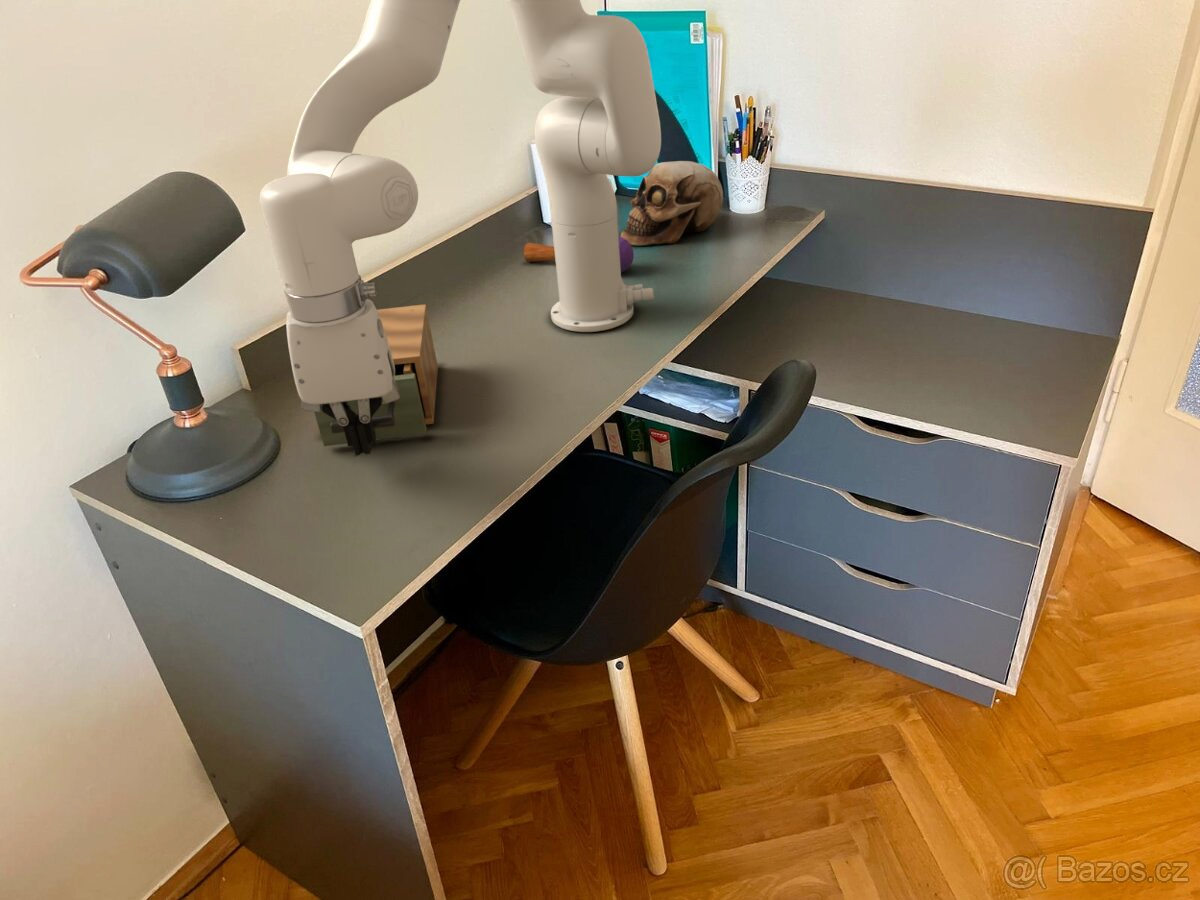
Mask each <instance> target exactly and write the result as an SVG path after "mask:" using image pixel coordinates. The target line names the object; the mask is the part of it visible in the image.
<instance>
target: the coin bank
mask: <svg viewBox="0 0 1200 900" xmlns="http://www.w3.org/2000/svg"><path fill="white" fill-rule="evenodd" d="M723 200H724V190H723V187H722V183H721V181H720V180H719V177H718V175H717V174H716V173H715V172H714V171H713V170H712V169H711V168H709V167H708V166H706V165H705V164H701V163H698V162H695V161H690V160H677V161H664V162H662V161H661V162H659V163H656V164H655V165H654V167H653V168H652V169H651V170H650V171H649V172H648V174H647V175H644V176H643V177H642V178H641V181H640V183H639V186H638V189H637V192H636V193H635V198H632V199H631V200H630V206H631V207H632V209H631V210H630V211H629V213H628V218H627V221H626V226H625V229H623V231H622V232H621V233H620V234H619V237H621V238H623V239H625V240H627V241H628V242H629V244H630V245H631V246H633V247H634V246H635V247H637V246H639V247H640V246H643V247H644V246H650V245H662V244H675V243H677V242H678V241H679V240H680V239H681V237H682V235H683V234H685V233H695V232H696V233H698V232H703V231H705V230H707V229H708V228H709V226H711V225H712V224H713V223H714V222H715V221H716V219H717V217H718V216H719V214H720V212H721V211H722V207H723Z"/></svg>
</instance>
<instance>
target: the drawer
mask: <svg viewBox="0 0 1200 900" xmlns="http://www.w3.org/2000/svg"><path fill="white" fill-rule="evenodd" d="M394 366H395V376H394V379H395V380H396V382H397V384H398V386H399V388H400V390H401V393H400V398H399V399H398V400H396V401H393V402H390V403H387V404H383V405H381V406H380V408H379V409H378V410H377V411H376V412H375V414H374V415H373V416H372V421H373V425H374V430H375V434H376V441H378V440H386V439H387V440H388V439H395V438H402V437H403V438H404V437H410V436H418V435H426V434H427V424H425V419H424V414H423V410H422V406H423V401H422V397H421V392H420V387H419V382H418V377H417V373H416V368H415V362H414V363H406V364H397V365H394ZM348 402H349V404H350V406H351V409H352V410H353V411H354V412H356V414H358V412H359V409H358V400H353V401H348ZM313 413H314V417H315V420H316V423H317V426H318V430H319V434H320V437H321V441H322V444H323V447H329V446H330V447H331V446H337V445H338V446H339V445H345V444H347V445H348V443H347V440H346V436H345V432H344V428H343V426H341V425H339V424H338V422H337V420H335V419H334V418H332V417H330V416H329V415H327V414H325V413H324V412H321V411H320V412H313Z"/></svg>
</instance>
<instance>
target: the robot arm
mask: <svg viewBox="0 0 1200 900" xmlns="http://www.w3.org/2000/svg"><path fill="white" fill-rule="evenodd" d="M460 2H461V0H370V1H369V5H368V8H367V11H366V13H365V17H364V21H363V25H362V28H361V31H360V34H359V38H358V40H357V42H356V43H355V45H354V47H353V48H352V49H351V50H350V52H348V53H347V54H346V55H345V57H343V58H342V59H341V61H340V62H339V63H337V65H336V66H335V67H334V68H333V69H332V70H331V72H330V73H329V75H328V76H327V77H326V78H325V80H323V82H322V83H321V84H320V85H319V87H317V89H316V91H315V92H314V94H313V95H312V96H311V97H310V99H309V101H308V102H307V104H306V106H305V108H304V110H303V112H302V114H301V116H300V119H299V122H298V125H297V128H296V132H295V136H294V139H293V144H292V146H291V150H290V154H289V156H288V157H289V158H288V162H287V168H286V169H287V170H286V175H285V176H281V177H277V178H276V179H272V180H271V181H269V182H268V183H266V184H265V185H264V186H263V187H262V188H261V190H260V192H259V205H260V210H261V214H262V216H263V220H264V224H265V227H266V231H267V234H268V237H269V238H268V239H269V241H270V245H271V248H272V252H273V255H274V259H275V262H276V266H277V270H278V273H279V277H280V279H281V284H282V287H283V291H284V295H285V298H286V303H287V306H288V309H289V311H288V312H287V314H286V319H285V325H286V337H287V338H286V339H287V346H288V352H289V359H290V364H291V370H292V375H293V379H294V380H293V381H294V384H295V387H296V391H297V394H298V396H299V398H300V401H301V402H300V403H301V404H300V407H301V409H302V410H303V411H305V412H313V413H314V412H320V411H321V412H324V413H325V414H327V415H329V416H330V417H332V418H334V419H335V420H337V422H338V424H339V425H341V426H343V428H344V432H345V436H346V440H347V446H348V447H352V448H353V452H354V456H361V455H362V454H365V455H370V454H371V451H372V445H373V444H376V442H377V440H376V434H375V430H374V425H373V421H372V416H373V415H374V414H375V412H376V411H377V410H378V409H379V408H380V406H381V405H383V404H387V403H390V402H393V401H396V400H398V399H399V398H400V393H401V390H400V388H399V386H398V384H397V382H396V380H395V379H394V376H395V366H394V361H393V357H392V354H391V350H390V347H389V343H388V340H387V337H386V334H385V331H384V328H383V325H382V322H381V319H380V317H379V314H378V312H377V310H378V309H377V308H376V306H375V304H374V302H373V300H371V299H370V298H371V297H376V296H378V290H377V285H376V283H375V282H369V283H368V282H367V281H365V282H364V279H362V277H361V274H359V270H358V267H357V262H356V257H355V253H354V249H353V243H354V242H355V241H358V240H363V239H367V238H372V237H376V236H381V235H384V234H388V233H391V232H393V231H396V230H398V229H400V228H402V227H403V226H404V225H405V224H406V223H407V222H409V220H410V219H411V218H412V217H413V215H414V213H415V211H416V209H417V206H418V202H419V189H418V184H417V182H416V180H415V178H414V175H413V174H412V173H411V172H410V170H409V169H408V168H406V167H405V166H404V165H403V164H401V163H400V162H398V161H396V160H393V159H390V158H386V157H382V156H374V155H367V154H360V153H353V151H354V149H355V146H356V144H357V142H358V140H359V137H360V136H361V134H362V133H363V131H364V130H365V129H366V127H367V126H368V125H369V124H370V123H371V122H372V120H374V118H376V117H377V116H378V115H380V114H381V113H382V112H383V111H385V110H386V109H388V108H389V107H391V106H393V105H395V104H396V103H399V102H400V101H403V100H404V99H407V98H409V97H410V96H412V95H414V94H416V93H418V92H420V91H421V90H423V89H425V88H427V87H428V86H429V85H431V84H432V83H433V82H434V81H435V80H436V79H437V78H438V76H439V75H440V71H441V69H442V65H443V61H444V57H445V54H446V50H447V48H448V47H447V46H448V43H449V39H450V36H451V32H452V30H453V25H454V22H455V19H456V15H457V12H458V9H459V6H460ZM507 2H508V6H509V9H510V12H511V15H512V19H513V22H514V26H515V31H516V33H517V34H516V35H517V37H518V40H519V45H520V47H521V52H522V55H523V60H524V62H525V65H526V69H527V72H528V75H529V77H530V80H531V82H532V84H533V86H534V87H535V88H536V89H537V90H538V91H540V92H541V93H544V94H548V95H552V96H559V98H554V99H553V100H550V101H549V102H547V103H546V104H545V105H544V106H543V107H542V108H541V109H540V111H539V112H538V115H537V117H536V120H535V124H534V141H535V147H536V149H537V150H536V151H537V155H538V157H539V161H540V164H541V167H542V170H543V173H544V179H545V182H546V188H547V195H548V201H549V210H550V211H549V212H550V221H551V230H552V240H553V247H554V251H555V269H556V279H557V280H556V281H557V288H558V289H557V290H558V298H559V300H558V301H557V302H556V303H555V304H554V305H553V306H552V307H551V309H550V318H551V321H552V323H553V324H554V325H556V326H557V327H559V328H561V329H563V330H566V331H571V332H577V333H594V332H602V331H607V330H611V329H614V328H617V327H620V326H622V325H624V324H626V323H627V322H628V321H629V320H630V319H631V318H633V315H634V303H637V302H642V303H643V302H644V303H645V302H651V301H652V302H653V301H654V300H655V295H654V289H653V287H646V288H643V287H644V286H643V284H642V283H639V284H633V285H628V284H625V283H624V281H623V278H622V272H621V269H620V253H619V237H620V236H619V224H618V223H619V222H618V205H617V204H618V203H617V197H616V193H615V191H614V187H613V186H612V183H611V181H610V179H609V178H608V176H614V177H615V176H616V177H628V178H629V177H631V178H632V177H639V176H640V177H641V176H643V175H646V174H647V173H649V172H650V171H651V169H652V168H653V167H654V166H655V165H657V162H658V160H659V157H660V152H661V147H662V130H661V120H660V115H659V110H658V104H657V97H656V91H655V86H654V80H653V79H654V78H653V74H652V68H651V61H650V57H649V52H648V48H647V44H646V42H645V39H644V37H643V35H642V33H641V32H640V30H639V28H638V27H637V26H636V25H635V24H634V23H633V22H632V21H631V20H629V19H627V18H625V17H622V16H617V15H608V14H607V15H600V14H588V13H587V12H586V11H585V10H584V8H583V4H582V2H581V0H507ZM353 400H358V409H359V412H358V414H356V412H354V411H353V410H352V409H351V406H350V404H349V402H348V401H353Z"/></svg>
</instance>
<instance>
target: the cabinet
mask: <svg viewBox="0 0 1200 900" xmlns="http://www.w3.org/2000/svg"><path fill="white" fill-rule="evenodd" d="M376 310H377V312H378V314H379V317H380V319H381V322H382V325H383V328H384V331H385V334H386V337H387V340H388V343H389V347H390V350H391V354H392V357H393V361H394V365H397V364H406V363H414V362H415V368H416V373H417V377H418V382H419V387H420V392H421V397H422V401H423V406H422V410H423V414H424V419H425V424H426V425H433V424H434V422H435V411H436V409H435V408H436V398H437V397H436V395H437V383H438V369H439V365H438V359H437V356H436V350H435V346H434V345H435V344H434V340H433V335H432V330H431V324H430V319H429V314H428V308H427V304H426V303H425V304H416V305H409V306H408V305H407V306H398V307H390V308H380V309H376Z"/></svg>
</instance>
